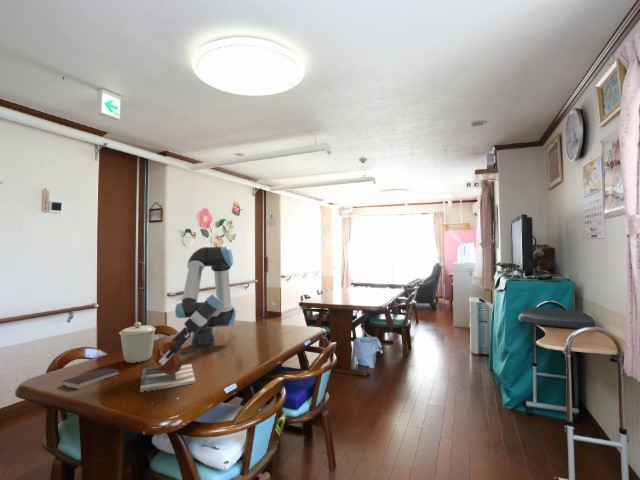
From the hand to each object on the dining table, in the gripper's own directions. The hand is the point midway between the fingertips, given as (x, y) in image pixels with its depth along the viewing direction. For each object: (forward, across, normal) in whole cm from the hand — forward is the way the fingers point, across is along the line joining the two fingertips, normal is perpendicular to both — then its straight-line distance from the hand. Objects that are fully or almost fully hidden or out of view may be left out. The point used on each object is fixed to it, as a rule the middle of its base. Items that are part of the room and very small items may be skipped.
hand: (161, 360), depth 163 cm
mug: (+3, 0, -7) cm, 7 cm away
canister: (+15, +39, +2) cm, 42 cm away
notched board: (+4, 0, -8) cm, 9 cm away
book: (+28, +15, +14) cm, 35 cm away
